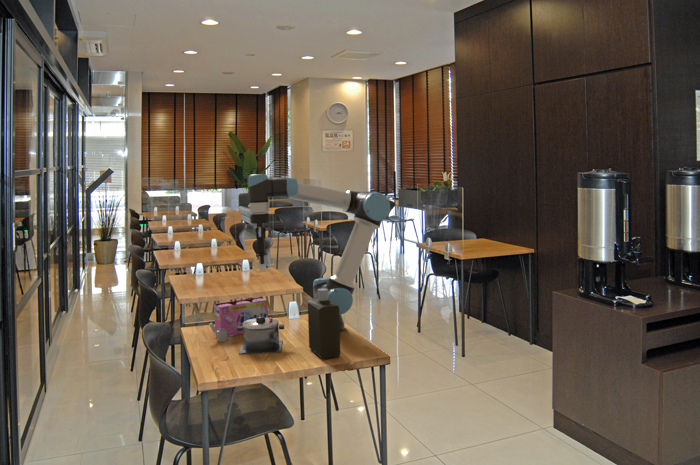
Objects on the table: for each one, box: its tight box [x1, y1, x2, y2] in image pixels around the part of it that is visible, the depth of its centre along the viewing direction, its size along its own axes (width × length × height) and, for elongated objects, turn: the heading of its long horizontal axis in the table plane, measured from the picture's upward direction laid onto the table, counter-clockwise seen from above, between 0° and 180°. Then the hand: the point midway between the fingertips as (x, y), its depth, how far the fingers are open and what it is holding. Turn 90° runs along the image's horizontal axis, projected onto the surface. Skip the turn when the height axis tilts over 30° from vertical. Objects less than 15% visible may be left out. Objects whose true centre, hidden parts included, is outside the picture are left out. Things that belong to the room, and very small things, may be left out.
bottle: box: [307, 288, 341, 361], centre depth 213 cm, size 8×16×25 cm, turn 22°
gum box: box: [213, 296, 269, 338], centre depth 247 cm, size 24×8×14 cm, turn 123°
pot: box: [237, 324, 285, 355], centre depth 224 cm, size 19×18×9 cm
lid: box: [243, 316, 280, 330], centre depth 223 cm, size 14×15×3 cm
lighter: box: [208, 322, 228, 342], centre depth 233 cm, size 7×2×8 cm, turn 104°
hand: (262, 271), depth 223 cm, fingers closed
